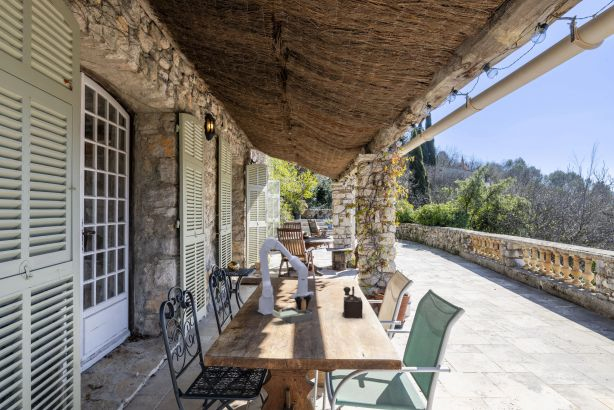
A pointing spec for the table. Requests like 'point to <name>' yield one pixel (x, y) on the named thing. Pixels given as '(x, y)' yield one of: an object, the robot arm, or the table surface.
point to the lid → (284, 313)
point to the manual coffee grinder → (352, 304)
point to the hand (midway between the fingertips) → (302, 309)
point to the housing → (302, 315)
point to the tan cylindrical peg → (303, 304)
